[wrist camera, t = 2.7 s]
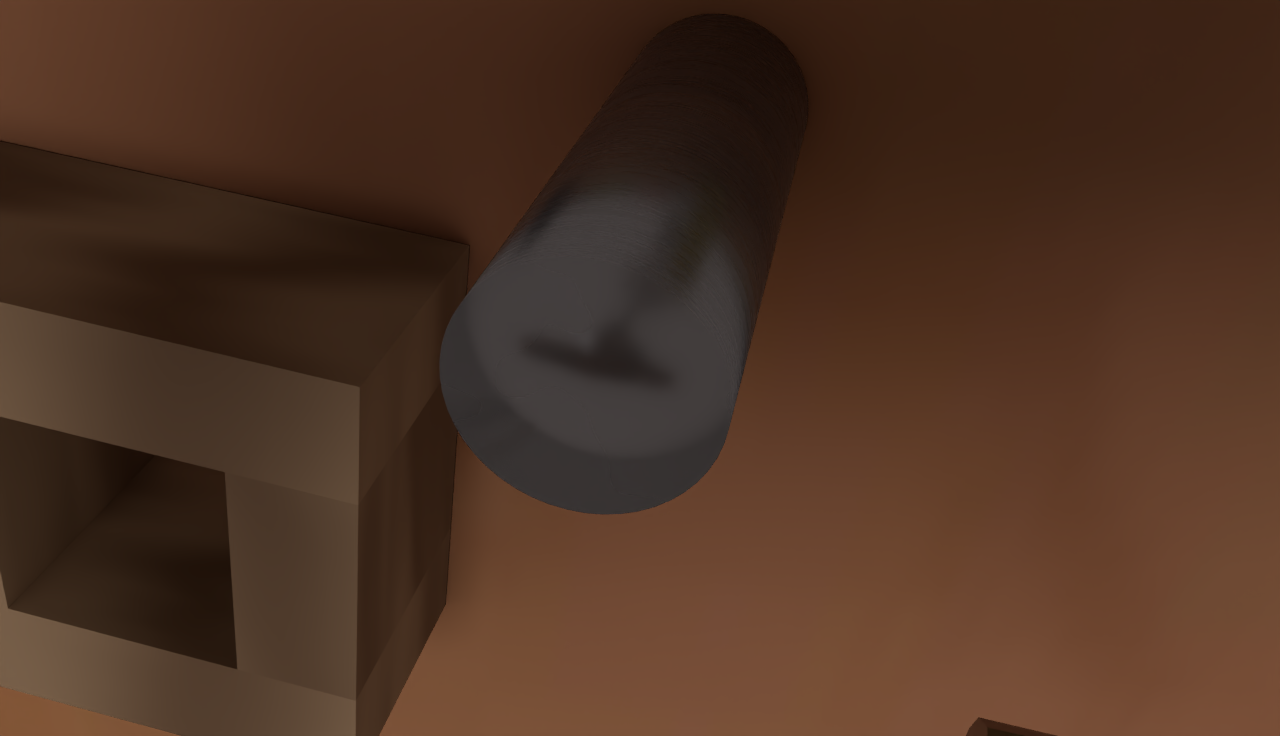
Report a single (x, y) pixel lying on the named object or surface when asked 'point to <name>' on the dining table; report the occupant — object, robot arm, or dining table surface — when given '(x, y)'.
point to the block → (217, 452)
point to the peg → (635, 279)
